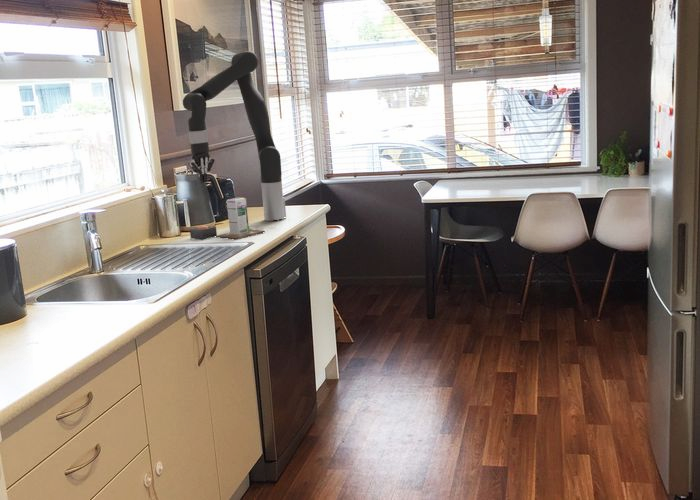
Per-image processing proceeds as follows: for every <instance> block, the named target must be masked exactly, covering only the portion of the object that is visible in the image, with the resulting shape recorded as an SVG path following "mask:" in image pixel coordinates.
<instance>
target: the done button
mask: <svg viewBox="0 0 700 500" xmlns="http://www.w3.org/2000/svg"><path fill="white" fill-rule="evenodd" d="M208 226H209V225H199V226H197V228H198V229H206V228H208Z"/></svg>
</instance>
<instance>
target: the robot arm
mask: <svg viewBox="0 0 700 500" xmlns="http://www.w3.org/2000/svg"><path fill="white" fill-rule="evenodd" d="M230 63H231V65H230V66H228V67H227V68H225V70H222V71H220V72H219V73H218V74H216V75H214V76H212V77H211V78H210V79H208V80H207V81H205V82H204V83H203V84H202V85H200V86H199V87H197V88H195V89H194V90H191V91H190V92H188V93H187V94H186V95H185V96H183V99H182V107H183V108H184V109H185V110H186V111H188V112H189V111H190V112H191V116H190V117H189V118H188V120H187V123H188V131H189V133H188V134H189V143H190V144H189V145H190V152H191V154H192V157H191V161H189V162H187V164H188V166H189V167H190V168H191V170H192V171H193V172H194V173H195V174H198V175H199V181H200V183H201V184H205V183H208V172H211V170H212V168H213V166H214V163H215V159H214V158H211V155H210V154H209V152H210V145H209V139H208V136H209V135H208V133H207V128H206V114H207V101H210V100H213V99H214V98H216V97H217V96H219V94H221V93H222V92H223V91H225V90H226V89H227V88H228V87H230V86H231V85H233V83H235V82H237V85H238V86H239V87H238V88H239V90H240V91H239V92H240V94H241V98H242V100H243V104H244V109H245V112H246V113H245V114H246V116H247V119H248V122H249V125H250V128H251V131H252V133H253V135H254V139H255V142H256V148H257V153H258V160H259V165H260V183H261V195H262V196H261V197H262V204H263V205H262V208H263V217H264V219H263V220H264V221H266V222H267V221H268V222H274V221H273V220H277V221H280V220H279V219H282V220H284V219H283V218H284V217H286V218H287V213H286V212H287V211H286V209H287V208H286V199H285V197H284V194H283V183H282V159H281V154H280V151H279V150H278V149H277V147H276V145H275V142H274V139H273V136H272V133H271V132H272V131H271V122H270V118H269V111H268V109H267V104H266V102H265V99H264V97H263V96H262V94H261V93H260V91H259V89H257V87H256V86H255V83H254V80H253V78H252V77H253V76H252V74H251V73H252V72H254V71H255V70H256V69H257V68H258V66H259V59H258V56H257V55H256V53H255V52H253V51H251V50H250V51H249V50H245V51H242V52H238V53H236V54H234V55H233V56H232V57H231V62H230Z"/></svg>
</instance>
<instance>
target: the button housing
mask: <svg viewBox="0 0 700 500" xmlns="http://www.w3.org/2000/svg"><path fill="white" fill-rule="evenodd" d="M207 226H208V228H206V229H198V228H197V227H198V226H197V227H192V228H189V234H190V239H193V240H201V241H204V240H207V238H208V239H211V237H212V238H216V237H215V236H216V235H218V233H217V227H216V226H211V225H207Z"/></svg>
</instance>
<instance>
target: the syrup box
mask: <svg viewBox="0 0 700 500" xmlns="http://www.w3.org/2000/svg"><path fill="white" fill-rule="evenodd" d="M226 206H227V217H228V226H229V227H228V228H229V232H230V234H235V235H240V234H244V233H248V232H249V229H250V226H249V219H248V218H249V217H248V215H249V214H248V207H247V198H246V197H235V198H229V199H226Z"/></svg>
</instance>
